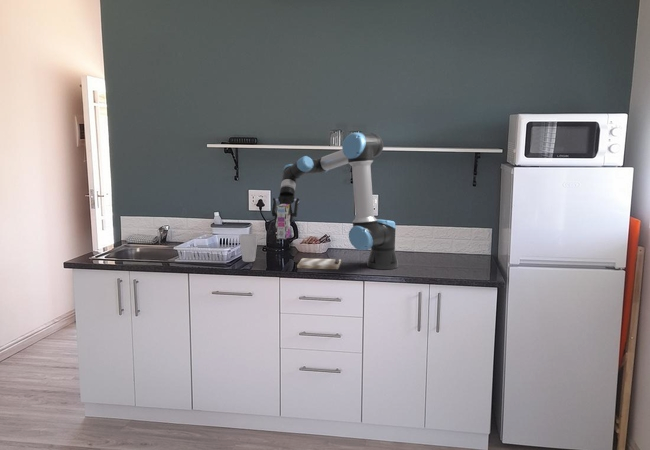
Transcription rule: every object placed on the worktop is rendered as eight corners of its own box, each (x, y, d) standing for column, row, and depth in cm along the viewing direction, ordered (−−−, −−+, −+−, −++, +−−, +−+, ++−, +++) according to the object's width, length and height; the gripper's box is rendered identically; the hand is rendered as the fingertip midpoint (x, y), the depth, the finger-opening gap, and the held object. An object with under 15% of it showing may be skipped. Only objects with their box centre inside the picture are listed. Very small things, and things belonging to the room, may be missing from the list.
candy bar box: (286, 239, 263) (286, 206, 261) (276, 239, 264) (275, 206, 262) (290, 235, 274) (290, 203, 272) (281, 235, 275) (280, 203, 273)
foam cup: (248, 263, 271) (248, 237, 269) (235, 260, 277) (235, 235, 275) (261, 260, 279) (261, 235, 277) (249, 257, 284) (248, 233, 282)
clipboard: (341, 261, 277) (341, 257, 276) (338, 269, 260) (338, 264, 260) (302, 260, 279) (302, 255, 278) (297, 268, 262) (297, 263, 262)
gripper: (305, 195, 281) (301, 231, 267) (271, 194, 282) (265, 231, 269) (304, 185, 275) (299, 222, 261) (269, 185, 276) (263, 222, 263)
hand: (282, 226), depth 265 cm, fingers closed on candy bar box, 5 cm apart
